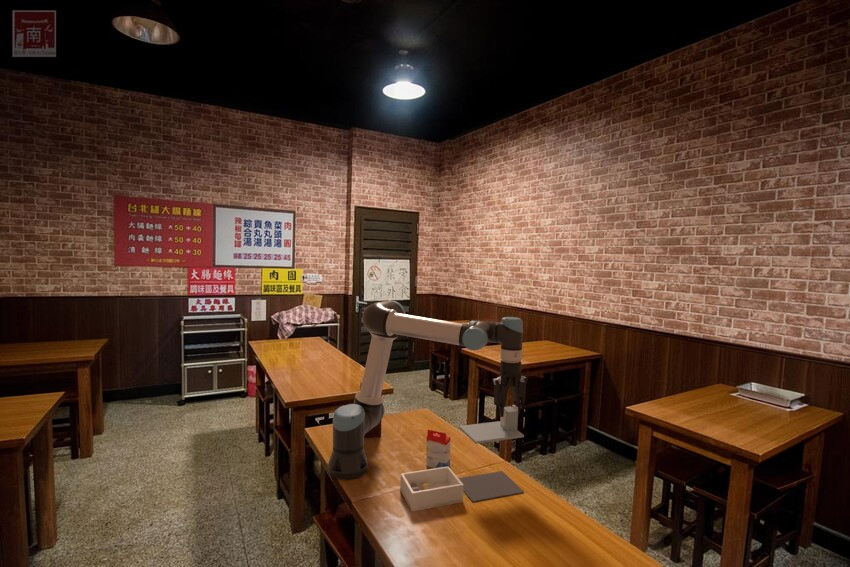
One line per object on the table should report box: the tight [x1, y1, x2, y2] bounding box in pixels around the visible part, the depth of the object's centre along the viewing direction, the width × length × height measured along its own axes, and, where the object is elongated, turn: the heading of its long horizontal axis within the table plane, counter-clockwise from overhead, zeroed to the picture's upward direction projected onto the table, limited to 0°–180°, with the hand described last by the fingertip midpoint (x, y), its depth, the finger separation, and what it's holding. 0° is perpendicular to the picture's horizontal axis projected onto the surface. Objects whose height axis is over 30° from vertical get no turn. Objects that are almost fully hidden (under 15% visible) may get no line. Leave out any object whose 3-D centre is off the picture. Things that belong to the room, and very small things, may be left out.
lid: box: [458, 405, 525, 445], centre depth 148 cm, size 19×14×9 cm
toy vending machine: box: [359, 381, 383, 440], centre depth 192 cm, size 9×11×28 cm
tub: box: [399, 466, 464, 512], centre depth 142 cm, size 18×13×6 cm
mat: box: [458, 470, 525, 503], centre depth 150 cm, size 20×15×1 cm
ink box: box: [425, 429, 451, 469], centre depth 163 cm, size 8×5×15 cm, turn 65°
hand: (508, 424), depth 151 cm, fingers closed on lid, 4 cm apart
